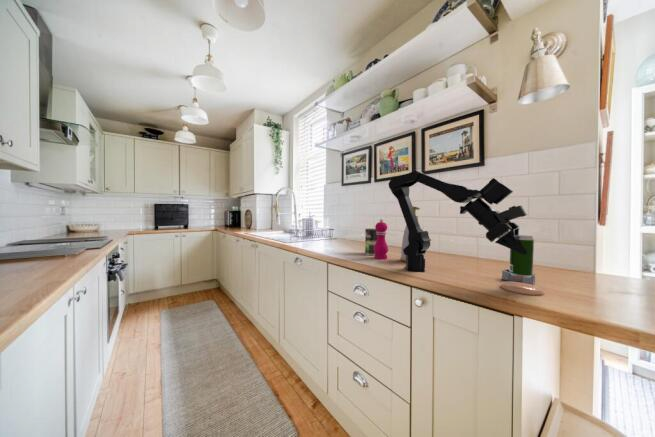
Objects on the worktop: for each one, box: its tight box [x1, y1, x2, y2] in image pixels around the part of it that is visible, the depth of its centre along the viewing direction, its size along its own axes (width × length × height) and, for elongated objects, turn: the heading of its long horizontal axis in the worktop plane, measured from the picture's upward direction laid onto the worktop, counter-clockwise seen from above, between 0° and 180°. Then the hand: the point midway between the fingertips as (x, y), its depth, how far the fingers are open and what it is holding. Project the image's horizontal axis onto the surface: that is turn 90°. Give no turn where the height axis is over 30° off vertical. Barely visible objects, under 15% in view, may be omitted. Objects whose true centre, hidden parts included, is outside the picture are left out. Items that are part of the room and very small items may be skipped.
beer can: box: [508, 234, 535, 278], centre depth 69 cm, size 5×5×12 cm
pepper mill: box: [374, 218, 389, 260], centre depth 118 cm, size 7×7×20 cm
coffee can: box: [364, 228, 377, 257], centre depth 130 cm, size 10×10×14 cm
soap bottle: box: [400, 206, 425, 263], centre depth 111 cm, size 11×12×26 cm
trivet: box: [500, 280, 545, 296], centre depth 69 cm, size 10×10×1 cm
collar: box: [501, 268, 536, 285], centre depth 79 cm, size 8×8×3 cm
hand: (527, 252), depth 68 cm, fingers closed on beer can, 5 cm apart
